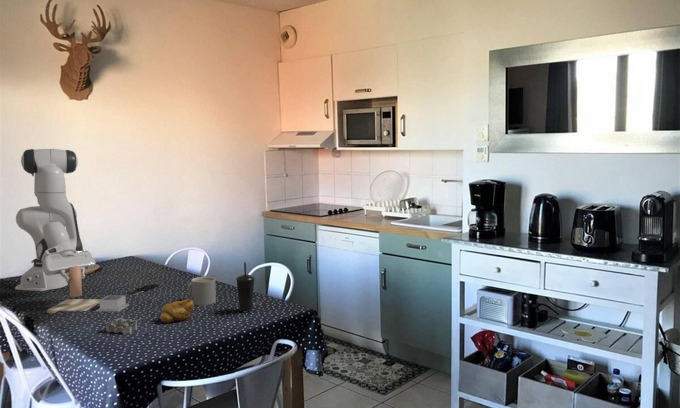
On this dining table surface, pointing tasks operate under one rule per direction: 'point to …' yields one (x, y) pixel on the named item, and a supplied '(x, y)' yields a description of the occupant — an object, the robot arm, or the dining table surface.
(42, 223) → the robot arm
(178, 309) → the bread roll
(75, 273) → the dowel
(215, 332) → the dining table surface
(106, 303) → the holder
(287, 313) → the dining table surface
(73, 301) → the board
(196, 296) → the coffee mug
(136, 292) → the knife
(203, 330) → the dining table surface
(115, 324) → the egg carton
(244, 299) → the drinking cup
